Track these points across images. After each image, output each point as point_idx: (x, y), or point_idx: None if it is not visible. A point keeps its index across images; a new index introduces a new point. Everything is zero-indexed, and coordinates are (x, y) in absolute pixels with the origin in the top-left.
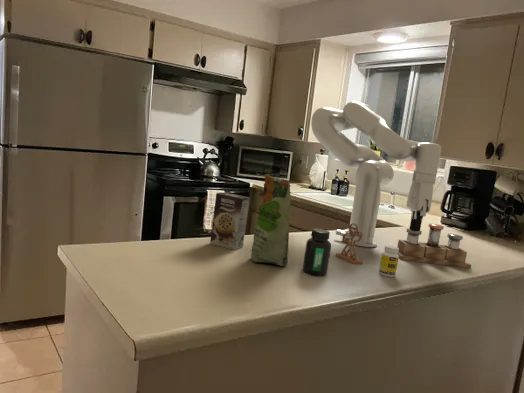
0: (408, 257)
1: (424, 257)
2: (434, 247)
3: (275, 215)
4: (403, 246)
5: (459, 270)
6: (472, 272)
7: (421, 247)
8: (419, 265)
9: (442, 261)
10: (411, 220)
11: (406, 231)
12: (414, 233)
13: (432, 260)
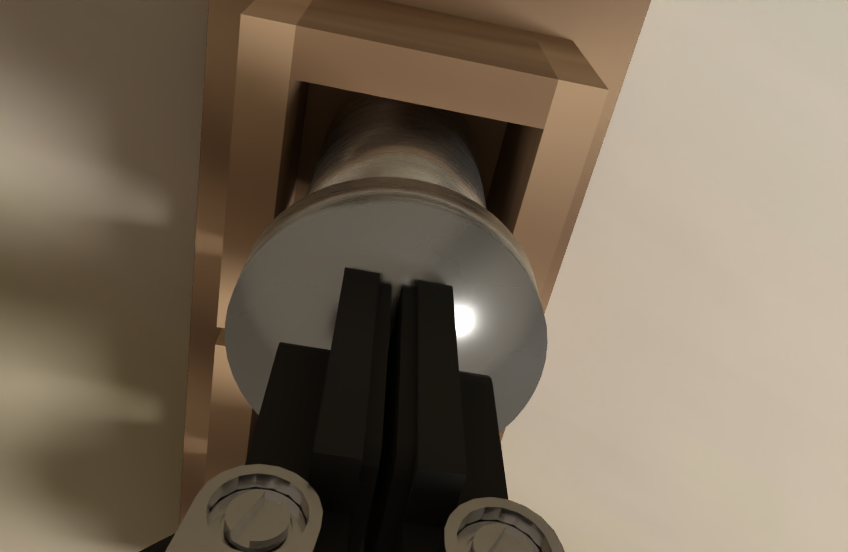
0: (209, 12)
1: None
2: (231, 442)
3: None
4: (339, 19)
5: (44, 444)
6: (34, 525)
7: (226, 267)
8: (25, 49)
9: (187, 405)
10: (420, 419)
11: (452, 191)
12: (246, 260)
13: (191, 310)
